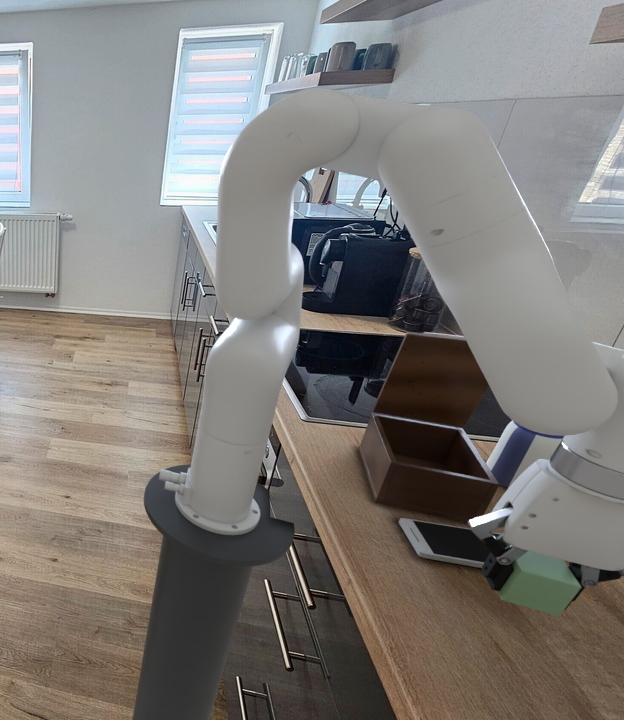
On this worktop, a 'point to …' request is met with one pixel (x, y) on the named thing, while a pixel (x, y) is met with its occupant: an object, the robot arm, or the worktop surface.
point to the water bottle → (519, 452)
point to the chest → (426, 468)
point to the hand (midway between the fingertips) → (522, 589)
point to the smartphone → (446, 542)
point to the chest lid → (433, 380)
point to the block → (540, 584)
